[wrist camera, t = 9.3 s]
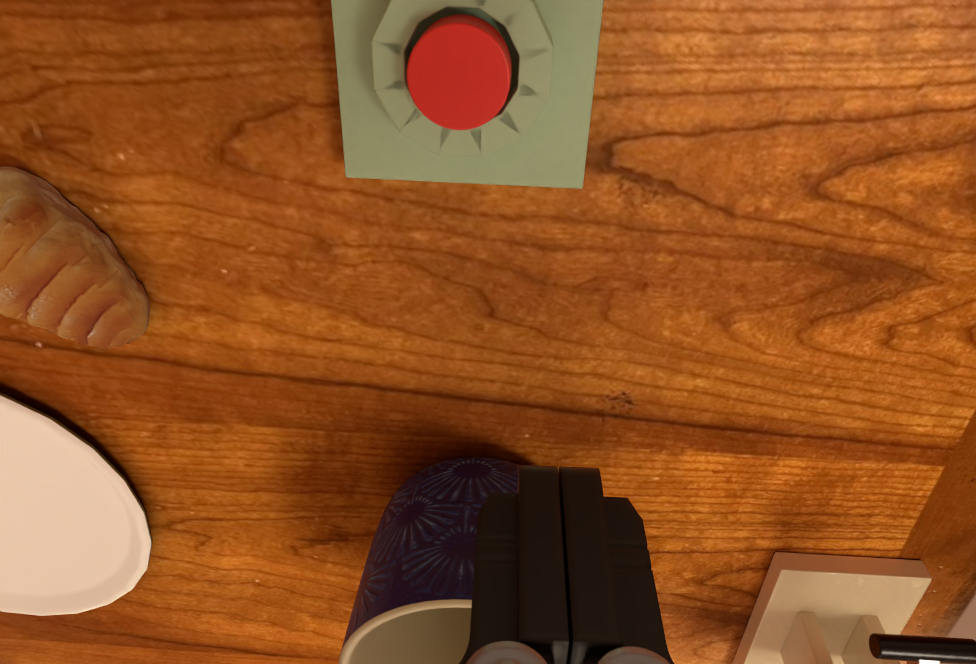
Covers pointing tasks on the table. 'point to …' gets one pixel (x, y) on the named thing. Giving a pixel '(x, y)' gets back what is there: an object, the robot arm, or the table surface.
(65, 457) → the plate
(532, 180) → the button block
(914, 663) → the lever
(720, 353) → the table surface
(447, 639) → the planter
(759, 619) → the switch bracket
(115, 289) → the pastry
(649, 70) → the table surface
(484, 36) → the button
